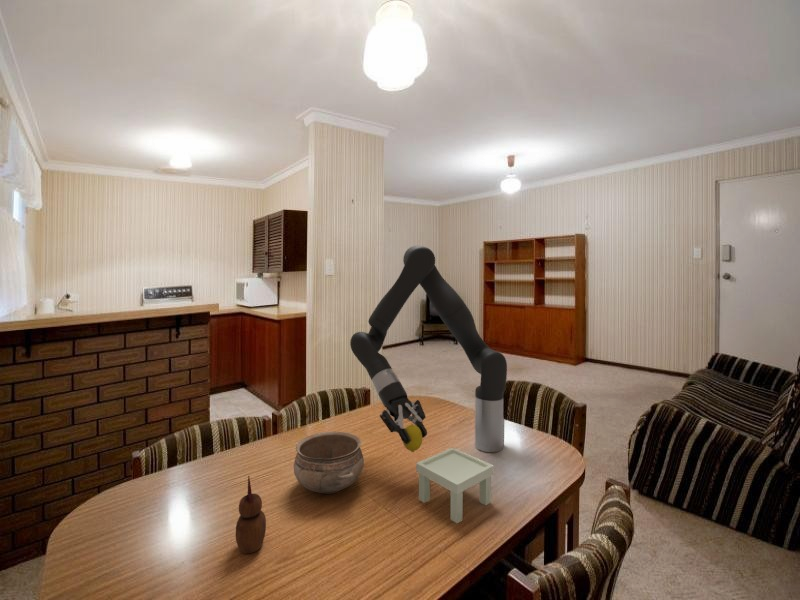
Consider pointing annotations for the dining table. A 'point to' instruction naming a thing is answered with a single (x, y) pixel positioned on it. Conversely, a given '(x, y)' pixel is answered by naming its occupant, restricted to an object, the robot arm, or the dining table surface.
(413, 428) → the lemon
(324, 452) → the cooking pot
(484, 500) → the stool
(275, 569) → the dining table surface
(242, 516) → the wooden figurine
